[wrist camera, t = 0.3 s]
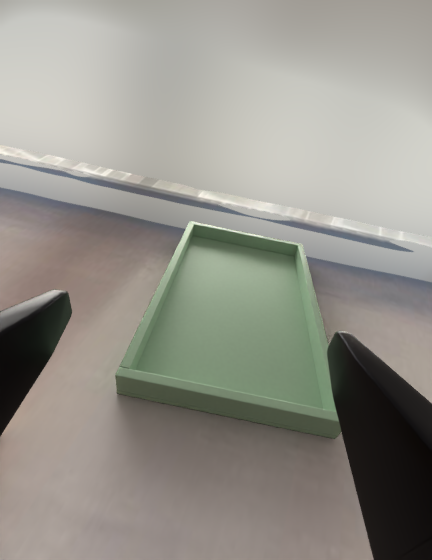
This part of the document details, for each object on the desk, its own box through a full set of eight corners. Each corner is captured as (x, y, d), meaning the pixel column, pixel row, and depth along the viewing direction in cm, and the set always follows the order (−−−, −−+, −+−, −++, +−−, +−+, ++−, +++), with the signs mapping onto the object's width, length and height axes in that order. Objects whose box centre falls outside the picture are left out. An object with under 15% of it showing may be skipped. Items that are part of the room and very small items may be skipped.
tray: (335, 439, 22) (349, 424, 21) (116, 393, 22) (114, 375, 21) (297, 257, 44) (302, 244, 43) (188, 235, 44) (189, 220, 43)
